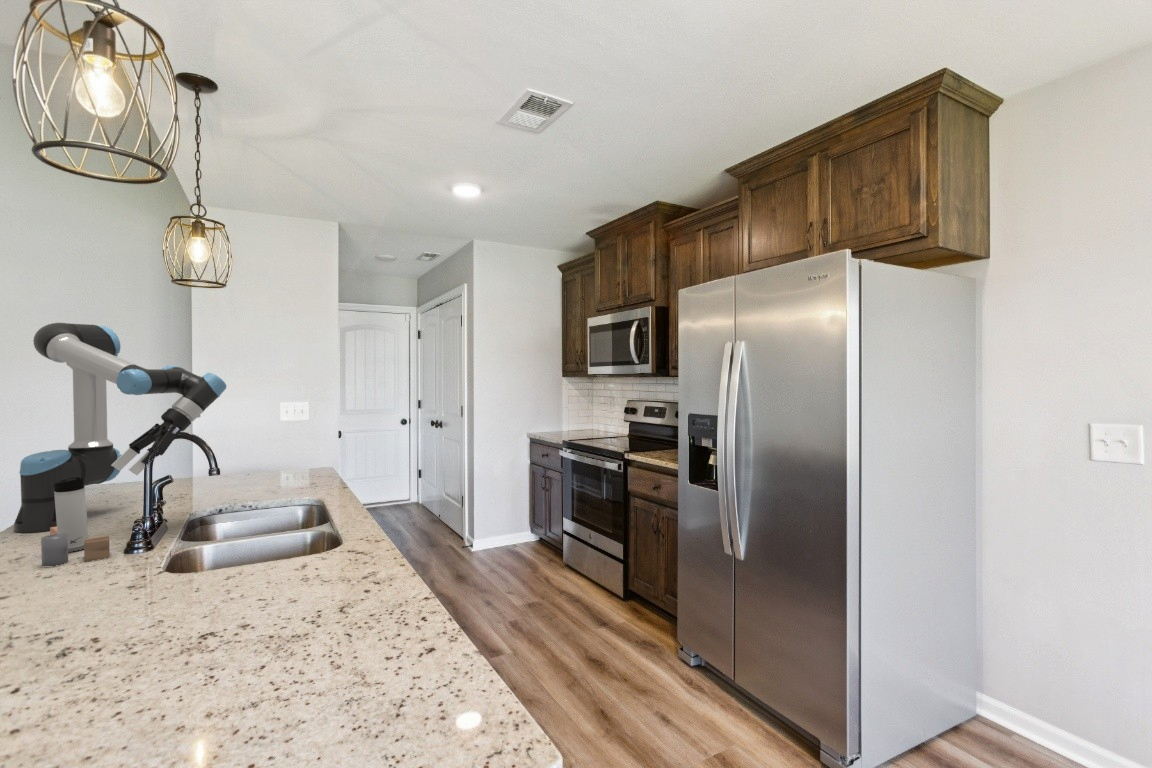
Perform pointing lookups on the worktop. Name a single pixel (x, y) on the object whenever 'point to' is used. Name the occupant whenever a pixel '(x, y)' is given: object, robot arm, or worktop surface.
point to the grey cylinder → (54, 549)
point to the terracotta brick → (53, 530)
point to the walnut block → (96, 548)
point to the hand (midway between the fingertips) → (123, 470)
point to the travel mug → (71, 511)
